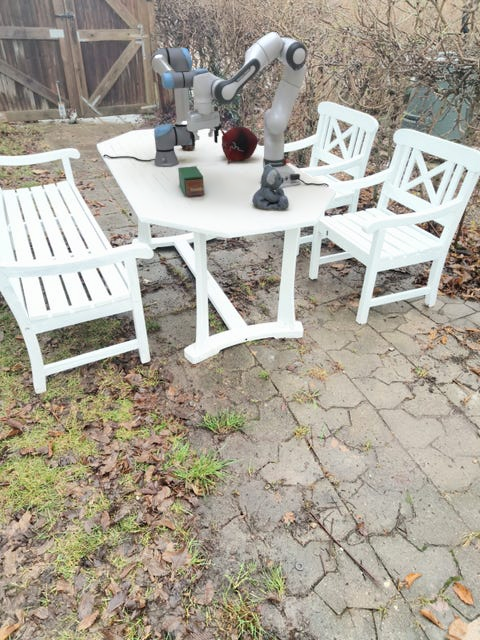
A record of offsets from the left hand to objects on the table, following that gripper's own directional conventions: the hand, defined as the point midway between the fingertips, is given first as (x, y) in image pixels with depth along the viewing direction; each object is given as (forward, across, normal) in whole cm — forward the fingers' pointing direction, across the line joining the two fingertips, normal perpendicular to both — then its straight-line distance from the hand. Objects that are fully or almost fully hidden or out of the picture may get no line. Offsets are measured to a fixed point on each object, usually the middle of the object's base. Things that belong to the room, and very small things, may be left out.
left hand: (204, 143), depth 250 cm
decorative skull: (+21, +39, +35) cm, 56 cm away
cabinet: (+21, -13, -9) cm, 27 cm away
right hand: (-8, -8, -20) cm, 23 cm away
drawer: (+20, -14, -15) cm, 29 cm away
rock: (+21, +17, +76) cm, 80 cm away
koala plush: (+22, +13, -51) cm, 57 cm away
